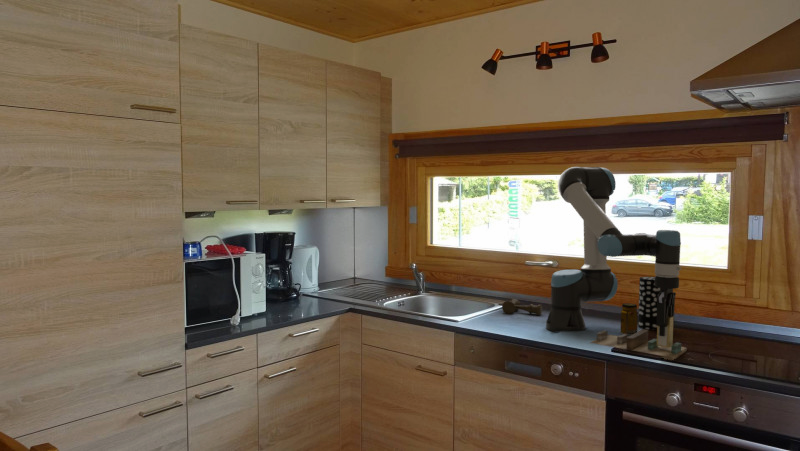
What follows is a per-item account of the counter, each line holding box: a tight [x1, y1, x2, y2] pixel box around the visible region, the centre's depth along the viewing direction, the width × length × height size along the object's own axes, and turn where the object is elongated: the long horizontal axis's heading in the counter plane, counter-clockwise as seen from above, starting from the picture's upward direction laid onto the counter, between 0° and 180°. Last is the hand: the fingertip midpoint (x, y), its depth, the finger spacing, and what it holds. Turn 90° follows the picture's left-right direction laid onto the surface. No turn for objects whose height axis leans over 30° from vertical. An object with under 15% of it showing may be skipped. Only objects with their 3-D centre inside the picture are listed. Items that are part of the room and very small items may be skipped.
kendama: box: [497, 298, 543, 316], centre depth 261 cm, size 6×10×20 cm
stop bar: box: [656, 315, 675, 348], centre depth 197 cm, size 4×4×10 cm
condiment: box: [620, 302, 639, 335], centre depth 221 cm, size 7×8×12 cm
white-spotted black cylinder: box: [637, 276, 660, 331], centre depth 234 cm, size 8×8×20 cm
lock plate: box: [589, 328, 688, 361], centre depth 204 cm, size 28×16×5 cm, turn 49°
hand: (664, 343), depth 198 cm, fingers closed on stop bar, 4 cm apart
